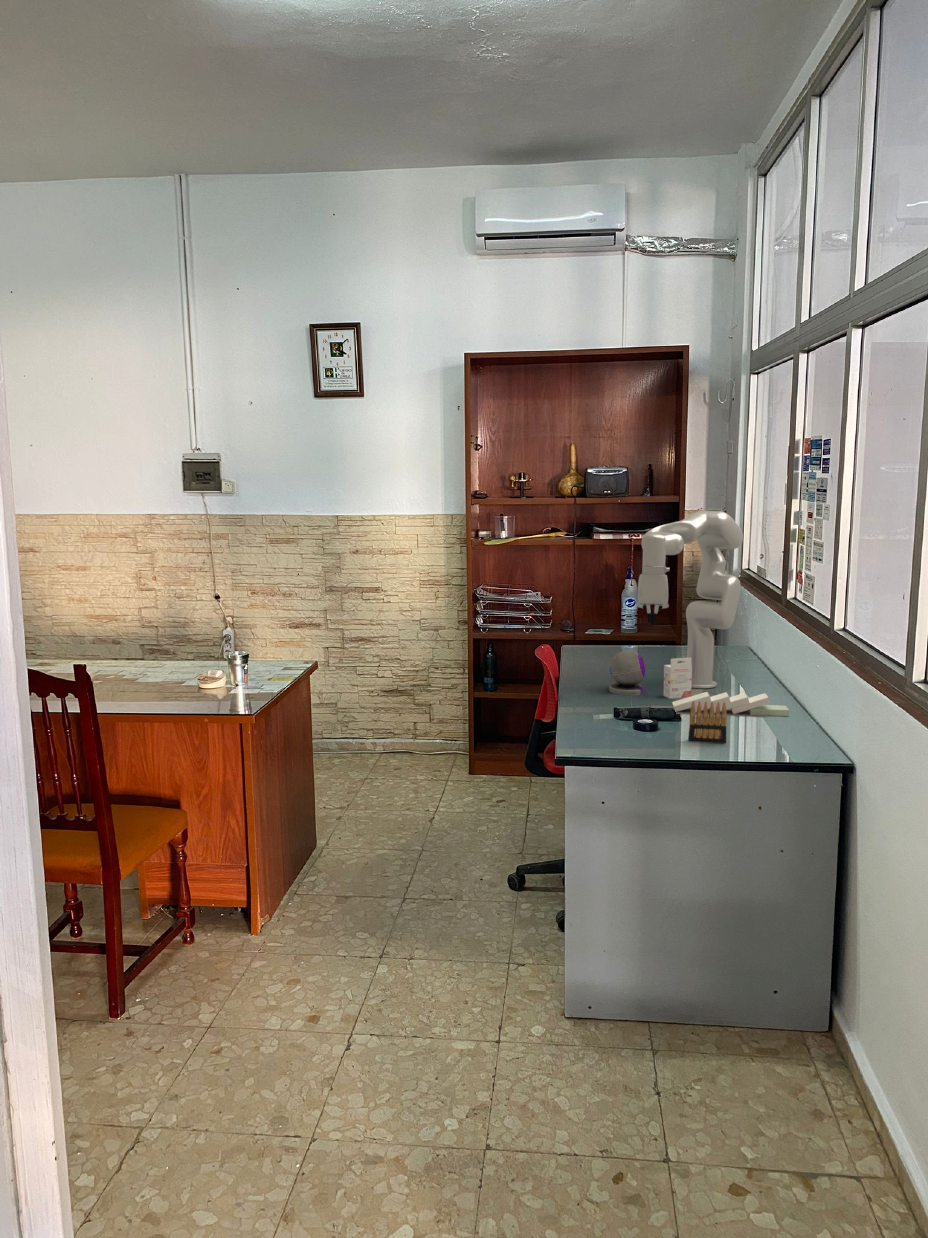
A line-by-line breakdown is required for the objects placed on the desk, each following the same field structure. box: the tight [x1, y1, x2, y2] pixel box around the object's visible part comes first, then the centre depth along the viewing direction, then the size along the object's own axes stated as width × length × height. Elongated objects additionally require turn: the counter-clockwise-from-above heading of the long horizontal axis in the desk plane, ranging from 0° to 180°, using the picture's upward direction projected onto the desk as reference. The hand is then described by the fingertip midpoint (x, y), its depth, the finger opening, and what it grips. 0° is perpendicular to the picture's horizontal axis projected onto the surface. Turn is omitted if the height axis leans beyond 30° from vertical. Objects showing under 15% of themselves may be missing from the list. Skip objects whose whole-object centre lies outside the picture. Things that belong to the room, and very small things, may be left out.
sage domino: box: [747, 704, 790, 717], centre depth 296 cm, size 2×6×12 cm
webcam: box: [608, 649, 647, 696], centre depth 328 cm, size 13×13×15 cm
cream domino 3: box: [714, 692, 750, 713], centre depth 297 cm, size 2×6×12 cm
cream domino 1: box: [672, 691, 711, 712], centre depth 299 cm, size 2×6×12 cm
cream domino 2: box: [695, 691, 731, 712], centre depth 298 cm, size 2×6×12 cm
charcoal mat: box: [650, 705, 767, 718], centre depth 299 cm, size 10×36×1 cm, turn 82°
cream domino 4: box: [731, 692, 771, 714], centre depth 296 cm, size 2×6×12 cm
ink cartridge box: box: [662, 657, 692, 699], centre depth 318 cm, size 9×5×15 cm, turn 105°
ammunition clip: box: [688, 701, 728, 744], centre depth 265 cm, size 11×2×12 cm, turn 80°
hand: (651, 624), depth 309 cm, fingers closed
